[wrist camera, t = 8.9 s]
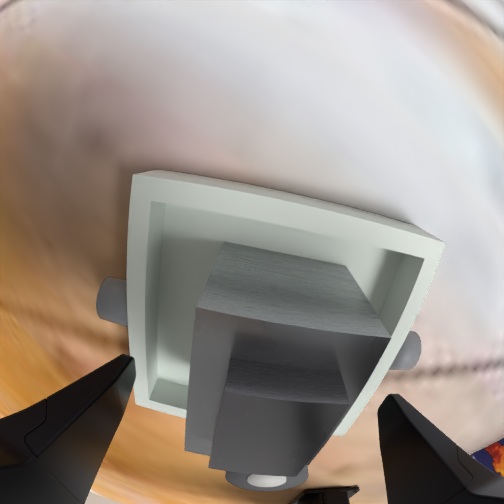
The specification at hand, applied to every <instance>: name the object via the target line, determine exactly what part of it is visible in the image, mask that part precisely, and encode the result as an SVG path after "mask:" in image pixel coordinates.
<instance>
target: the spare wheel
mask: <svg viewBox="0 0 504 504" xmlns="http://www.w3.org/2000/svg"><path fill="white" fill-rule="evenodd" d="M225 477H226V479H227V481H228V482H229V483H231V484H232V485H234V486H237V487H240V488H243V489H247V490H253V491H279V490H285V489H289V488H293V487H295V486H298V485H300V484H302V483H303V482H305V481H306V480H307V478H308V466H307V465H305V466H304V468H303V469H302V470H301V471H300V472H299V474H298V475H297V476H296V477H288V476H269V475H256V474H246V473H238V472H231V471H226V476H225Z"/></svg>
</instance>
